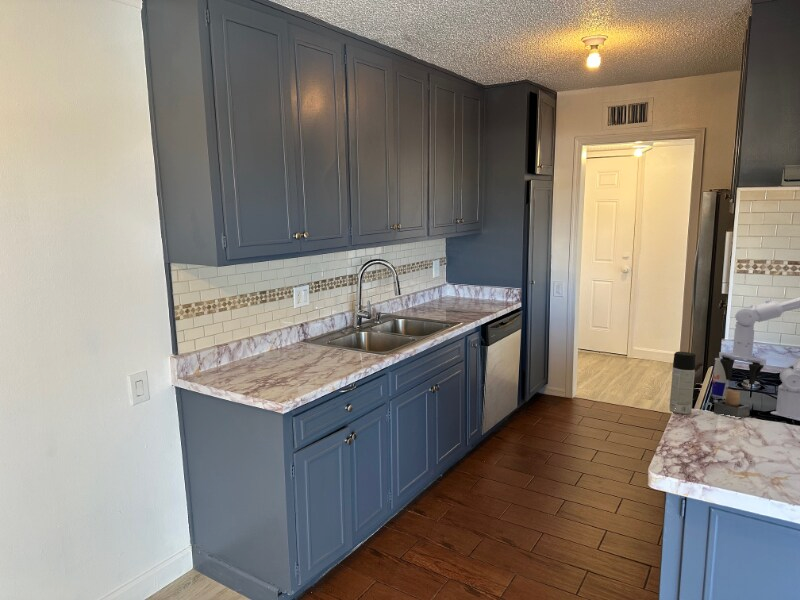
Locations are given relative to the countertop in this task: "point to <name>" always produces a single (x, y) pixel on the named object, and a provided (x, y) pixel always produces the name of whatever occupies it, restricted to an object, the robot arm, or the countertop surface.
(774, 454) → the countertop surface
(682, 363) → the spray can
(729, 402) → the peg
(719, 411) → the socket
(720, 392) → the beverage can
